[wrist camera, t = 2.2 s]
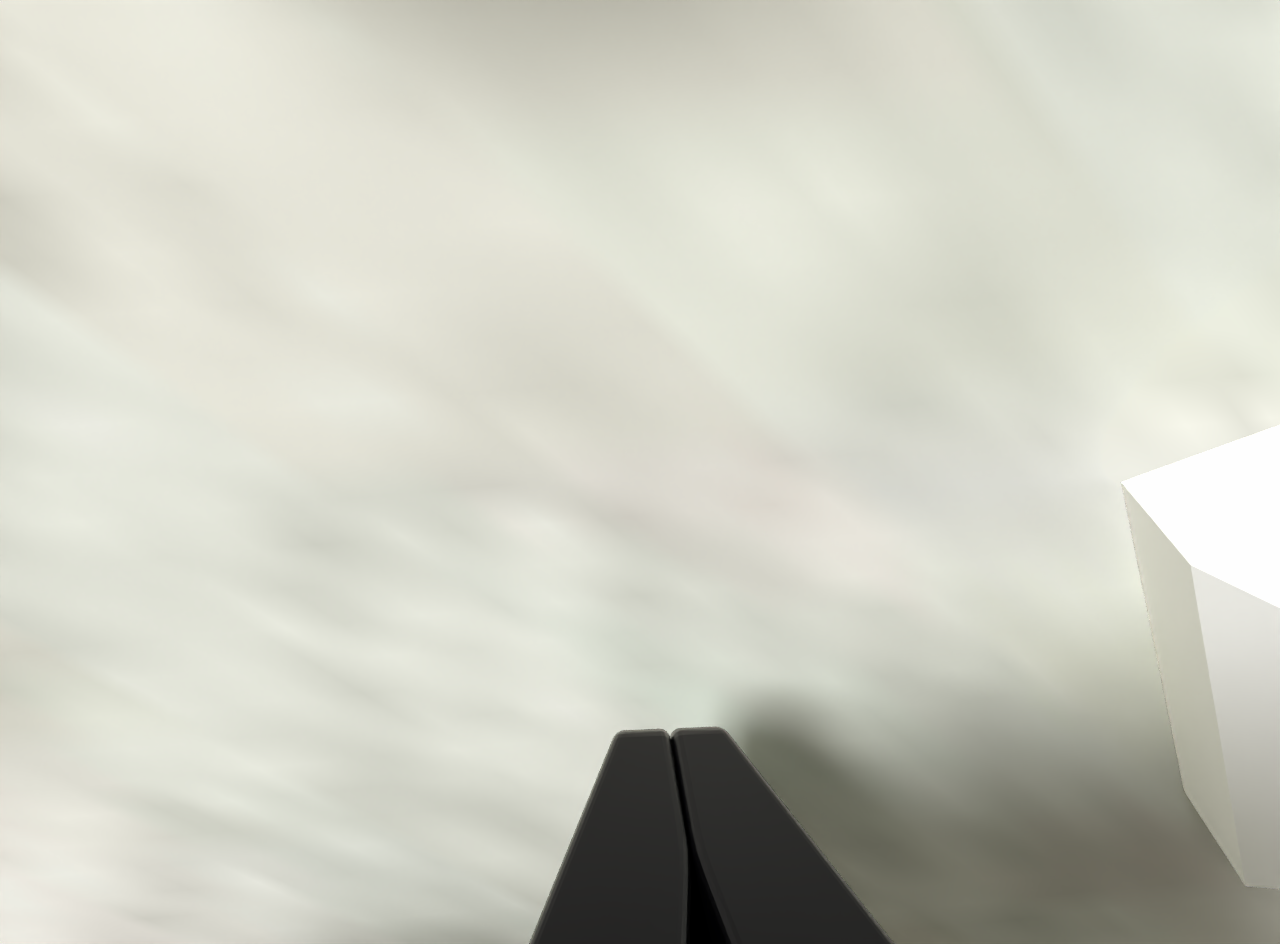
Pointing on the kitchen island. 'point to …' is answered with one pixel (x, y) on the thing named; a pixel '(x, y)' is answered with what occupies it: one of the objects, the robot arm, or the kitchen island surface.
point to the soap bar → (1219, 635)
